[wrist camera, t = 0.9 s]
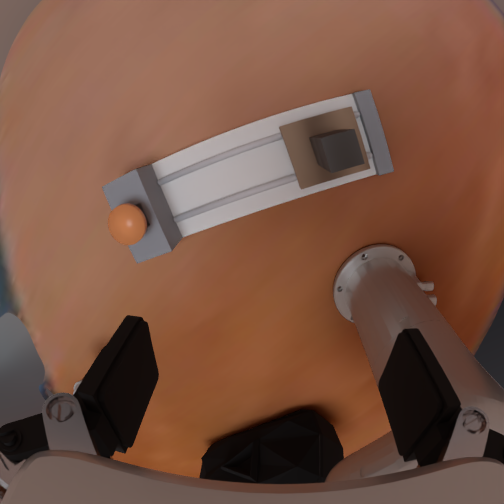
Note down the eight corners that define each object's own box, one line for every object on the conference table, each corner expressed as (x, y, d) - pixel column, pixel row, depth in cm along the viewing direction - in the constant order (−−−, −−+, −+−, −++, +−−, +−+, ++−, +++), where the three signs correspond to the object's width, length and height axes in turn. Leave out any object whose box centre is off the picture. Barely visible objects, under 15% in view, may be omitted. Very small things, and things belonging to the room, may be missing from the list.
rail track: (363, 92, 29) (380, 85, 24) (386, 168, 33) (406, 175, 27) (124, 178, 35) (101, 187, 30) (154, 245, 39) (137, 263, 33)
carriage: (346, 107, 28) (373, 99, 20) (365, 166, 31) (396, 178, 22) (278, 127, 30) (282, 124, 21) (299, 186, 32) (309, 205, 24)
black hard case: (231, 457, 60) (222, 524, 42) (195, 437, 57) (179, 509, 38) (339, 418, 51) (351, 501, 33) (307, 392, 48) (315, 489, 30)
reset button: (142, 193, 30) (133, 198, 27) (158, 230, 31) (150, 237, 29) (112, 208, 30) (101, 214, 28) (127, 242, 32) (118, 250, 30)
